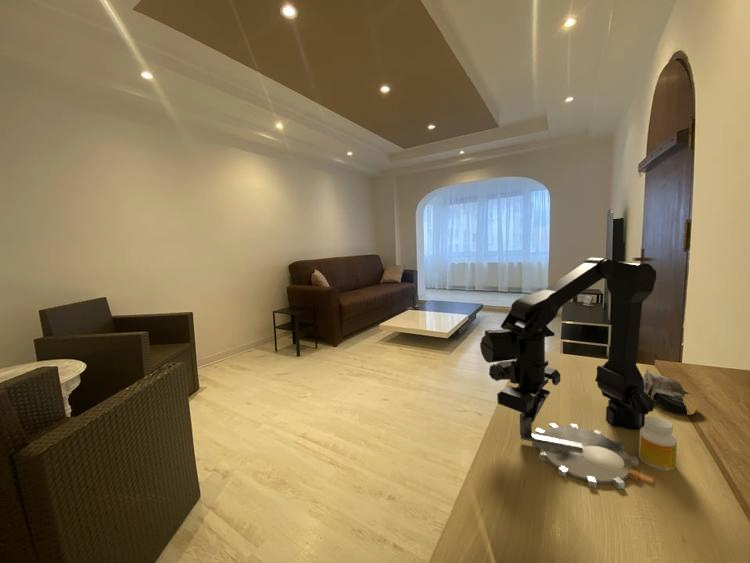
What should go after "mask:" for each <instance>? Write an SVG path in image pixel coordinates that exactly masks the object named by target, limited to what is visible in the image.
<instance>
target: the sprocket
mask: <svg viewBox="0 0 750 563" xmlns="http://www.w3.org/2000/svg"><path fill="white" fill-rule="evenodd" d="M548 426H549V427H548V428H545V429H542V428H540V427H537V428H536V429H535V434H534V433H533V428H532V427H533V422H532V416H531V415H530V414H528V413H521V412H520V413H519V435H520V440H522V441H523V440H524V441H528V442H531V446H532V448H537V449H539V452H538V458H537V459H538V460H539V461H540V462H541V463H547V462H548V463H549V464H550V465H551V466H553V467H554V468H556V469H557V470H558V476H560V477H562V478H564V479H566V477H568V476H570V477H573V478H574V479H577V480H581V481H584V482H586V484H587V487H589V488H593V489H597V484H599V485H613V486H614V487H615V488H616V489H617V490H624V489H625V486H626V485H625V484H626V482H625V481H626V480H628V479H630V480H632V481H635V482H638V481H640V480H639V477H640V471H637V470H635V469H634V468H633V467H637V468H638V467H639V465H640V464H639V462H640V459H638V456H633V455H629V454H628V453H627V452H626V450H625V449H626V447H625V446H626V445H625V444H624V443H623V442H622V441H613V440H612V439H610V438H608V437H606V436H605V435H602V434H603V432H602V431H601V430H597V429H595V430H594V431H592V430H589V429H586V428H581V427H578V424H577V423H570V426H567V425H557V424H556V423H554V422H553V423H552V422H551V423H549V424H548ZM632 468H633V469H632Z"/></svg>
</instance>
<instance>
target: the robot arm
mask: <svg viewBox="0 0 750 563" xmlns="http://www.w3.org/2000/svg"><path fill="white" fill-rule="evenodd" d="M603 279H604V280H606V289H607V291H608V292H609V294H610V296H611V298H612V299H613V310H612V319H611V320H612V321H611V332H610V342H609V343H610V344H609V352H608V354H609V355H608V360H606V362H605V363H603V365H598V366H597V367H596V377H595V379H594V381H595V382H597V388H599V389H600V391H601V395H602V397H605V398H606V399H608V402H607V406H606V408H605V421H606V422H608V424H610V425H611V426H612V427H616V428H622V429H626V430H630V431H637V430H641V428H642V427H644V426H645V418H646V415H649V413H650V412H653V411H654V409H655V406H656V401H654V400H652V399H651V397H650V396H649V395H647V394H646V393H645V392H644V379H643V378H644V376H642V374H641V371H640V370H639V368H638V366H637V361H638V359H637V358H638V351H639V350H638V348H639V341H640V340H639V339H640V328H641V319H642V318H641V317H642V311H643V310H642V309H643V303H644V302H645V301H646V300H647V299H648V297H650V296H651V294H652V293H653V292H654V288H655V284H656V279H657V270H656V269H655V268H654V267H653V266H652V265H651V264H649V263H647V262H635V261H634V262H631V261H616V260H613V259H609V258H606V257H605V258H604V257H603V258H602V257H589V258H587V259H585V260H584V261H583V262H582V264H580V265H578V266H577V267H576V268H575V269H573V270H571V271H570V272H569V273H567V274H565V275H564V276H562V277H561V278H559V279H558V280H557V281H555V282H554V283H552V284H551V285H549V286H548V287H545V289H542V290H540V291H537V292H533V293H529V294H527V295H524V296H523V297H520V298H517V299H516V300H514V302H513V303H512V304H511V307H510V308H511V309H510V310H509V311H508V313H507V316H506V317H505V318H504V320H503V322H502V323H501V324H500V328H501V329H493V330H492V329H487V330H485V331H484V336H482V337H481V340H480V343H479V346H480V352H481V355H482V357H483V359H484V361H485V362H486V363H487V364H491V363H493V364H491V365H489V372H488V375H489V377H490V378H491V379H492V380H494V381H496V382H499V381H501V380H504V381H505V380H509V382H510V383H511V384H514V385H516V384H517V385H518V386H516V387H515V386H511V385H507V386H506V387H504V388H503V389H502V390H500V391H499V392H498V393H497V394H496V397H497V400H496V401H497V404H498V405H500V406H503V407H506V408H509V409H510V410H514V411H516V412H519V413H520V414H521V413H528V414H530V415H531V416H532V423H534V421H535V420H536V418H537V417H538V414H539V413H540V411H541V409H542V407H543V405H544V404H545V402H546V400H547V399H548V398H549V395H550V394H551V391H549V390H547V389H544V387H545V386H546V385H547V384H549V380H551V384H552V385H553V386H557V385H559V384H560V383H561V373H560V372H559V371H558V369H555V368H551V367H547V366H549V360H548V359H546V341H545V340H546V338H549V337H554V336H555V332H554V331H552V330H551V329H550V328H549V327H548V325H549V324H550V323H551V322H553V320H555V319H556V317H557V315H558V313H559V310H560V309H561V308H562V307H563V306H564V305H566V304H568V302H570V301H571V300H573V299H574V298H576V297H578V296H579V295H581V294H582V293H583V292H585V291H586V290H588V289H589V288H590V287H592V286H594V285H596V284H597V283H598V282H599V281H601V280H603ZM518 324H520V325H522V326H524V327H521V326H520V325H518Z"/></svg>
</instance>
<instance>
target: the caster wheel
mask: <svg viewBox="0 0 750 563" xmlns="http://www.w3.org/2000/svg"><path fill="white" fill-rule="evenodd" d="M643 379H644V392H645V393H646V394H647V395H648V396H649V397H650V398H651V399H652V400H653V401H655V403H656V404H658V405H659V406H660V407H661V408H663V409H665V410H667V411H669V412H671V413H673V414H677V415H680V416H687V410H686V406H685V405H684V403H683V398H684V397H685V393H686V394H690V393H689V392H687V391H685V390H684V389H683V386H682V384H680V382H678V381H676V380H675V379H673V378H670V377H668V376H663V375H658V374H654V373H650V371H649V369H648V368H646V370H645V372H644V376H643Z"/></svg>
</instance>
